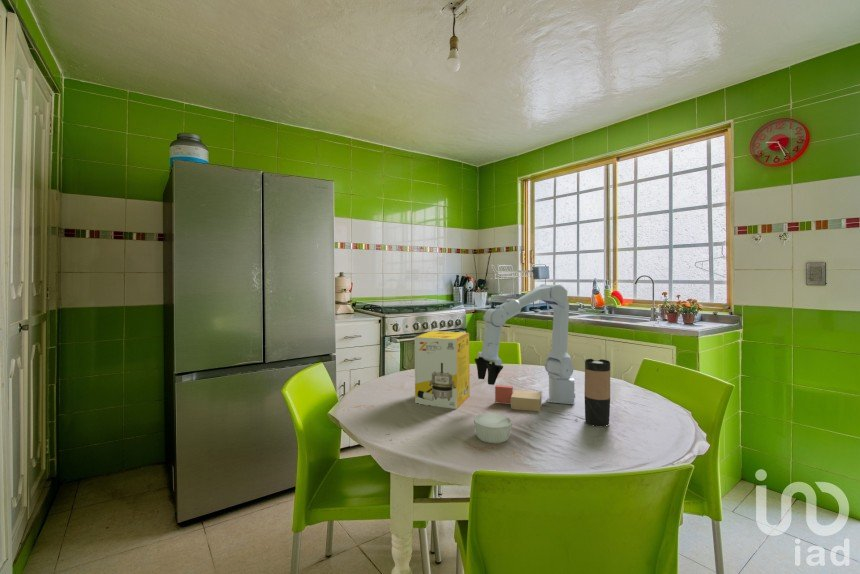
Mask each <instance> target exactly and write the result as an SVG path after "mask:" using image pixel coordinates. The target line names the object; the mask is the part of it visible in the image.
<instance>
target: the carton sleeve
mask: <svg viewBox="0 0 860 574" xmlns="http://www.w3.org/2000/svg"><path fill="white" fill-rule="evenodd" d="M542 395H543V393H542V391H532V390H531V391H530V390H520V389H513V394H512V396H511V404H510V409H512V410H519V411H521V410H524V411H531V412H532V411H533V412H541V408H542V404H543V403H542Z"/></svg>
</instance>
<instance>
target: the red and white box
mask: <svg viewBox="0 0 860 574" xmlns="http://www.w3.org/2000/svg"><path fill="white" fill-rule="evenodd" d="M494 386H495V387H494V400H495V401H494V402H495V403H500V404H510V405H511V396H512V394H513V391H514V389H513V388H514V386H513V385H503V384H496V385H494Z"/></svg>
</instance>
